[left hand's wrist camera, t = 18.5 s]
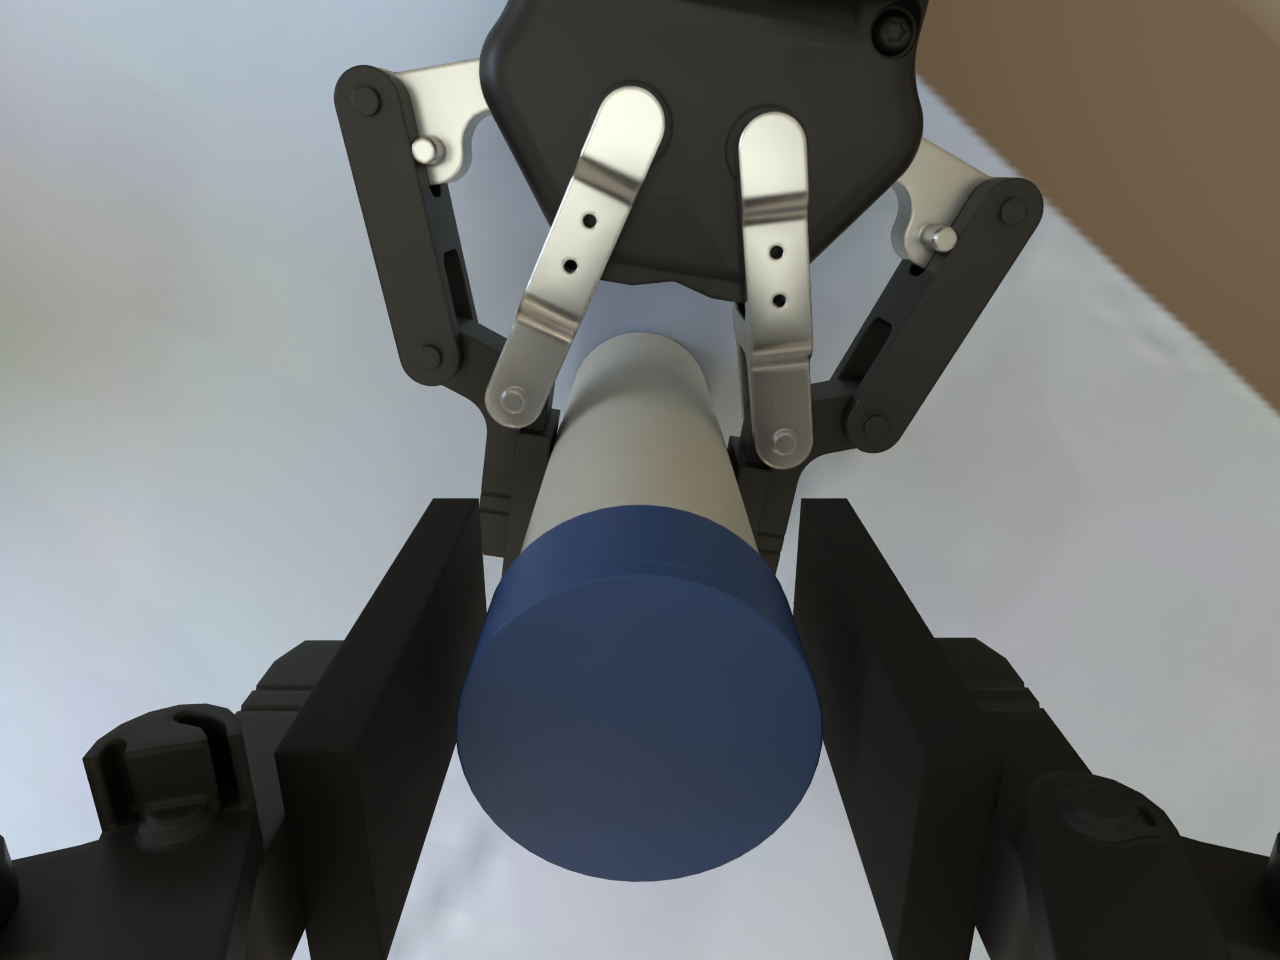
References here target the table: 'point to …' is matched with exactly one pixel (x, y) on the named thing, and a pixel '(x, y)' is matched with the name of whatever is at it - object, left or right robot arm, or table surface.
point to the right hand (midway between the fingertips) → (620, 580)
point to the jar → (639, 440)
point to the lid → (639, 698)
